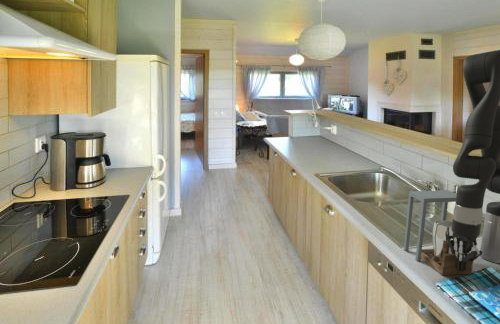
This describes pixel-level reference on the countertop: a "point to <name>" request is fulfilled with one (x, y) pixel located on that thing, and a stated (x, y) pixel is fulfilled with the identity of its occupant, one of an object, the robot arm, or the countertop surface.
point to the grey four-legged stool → (425, 198)
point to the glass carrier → (445, 263)
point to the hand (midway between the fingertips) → (460, 270)
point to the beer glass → (441, 239)
